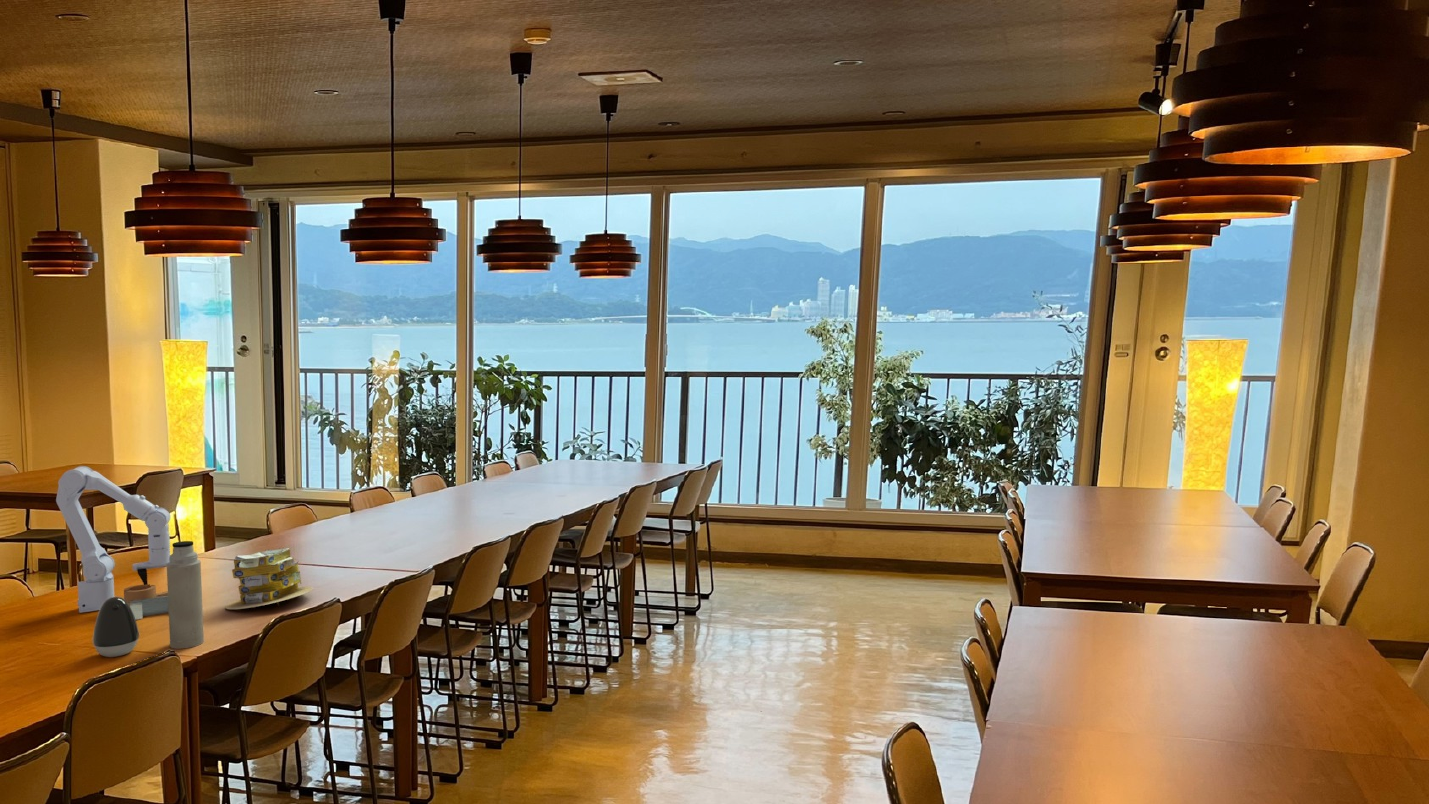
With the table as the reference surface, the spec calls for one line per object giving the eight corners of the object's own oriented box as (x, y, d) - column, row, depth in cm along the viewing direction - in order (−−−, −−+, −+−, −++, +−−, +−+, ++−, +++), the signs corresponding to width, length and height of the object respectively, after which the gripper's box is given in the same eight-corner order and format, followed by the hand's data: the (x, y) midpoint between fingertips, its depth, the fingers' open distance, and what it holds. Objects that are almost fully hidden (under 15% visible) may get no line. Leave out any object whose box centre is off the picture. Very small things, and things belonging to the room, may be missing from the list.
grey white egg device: (94, 663, 235) (91, 604, 234) (92, 652, 244) (90, 596, 243) (141, 655, 241) (138, 598, 240) (138, 644, 250) (135, 589, 249)
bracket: (135, 615, 277) (134, 592, 277) (118, 611, 281) (117, 589, 281) (192, 600, 293) (191, 579, 293) (176, 597, 297) (175, 576, 297)
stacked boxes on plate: (206, 610, 282) (204, 557, 281) (268, 589, 305) (266, 540, 304) (271, 617, 274) (269, 562, 273) (330, 595, 298) (328, 544, 297)
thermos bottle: (180, 639, 254) (175, 539, 252) (209, 638, 254) (205, 538, 253) (163, 648, 246) (159, 545, 244) (194, 648, 246) (190, 545, 245)
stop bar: (130, 620, 272) (129, 603, 271) (130, 616, 275) (129, 600, 275) (196, 611, 281) (195, 594, 281) (195, 607, 285) (194, 591, 284)
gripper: (184, 542, 297) (186, 583, 298) (131, 548, 289) (133, 590, 290) (186, 546, 291) (188, 588, 292) (132, 552, 283) (134, 595, 284)
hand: (161, 590), depth 290 cm, fingers open, 7 cm apart
